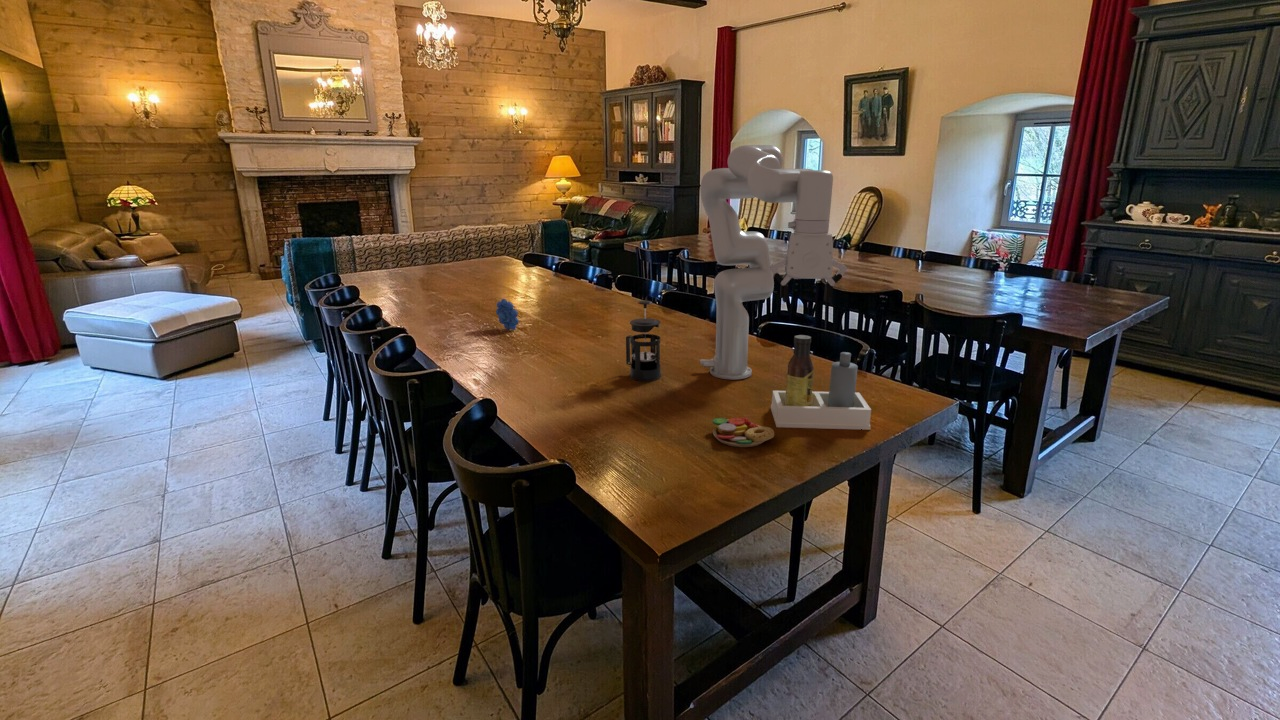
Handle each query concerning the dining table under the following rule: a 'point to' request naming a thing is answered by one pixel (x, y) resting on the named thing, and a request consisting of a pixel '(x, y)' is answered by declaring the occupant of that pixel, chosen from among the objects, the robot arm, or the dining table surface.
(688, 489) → the dining table surface
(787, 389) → the sauce bottle
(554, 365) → the dining table surface
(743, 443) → the toy food set
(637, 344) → the french press
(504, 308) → the grapes
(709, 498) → the dining table surface
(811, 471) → the dining table surface
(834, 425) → the condiment caddy
